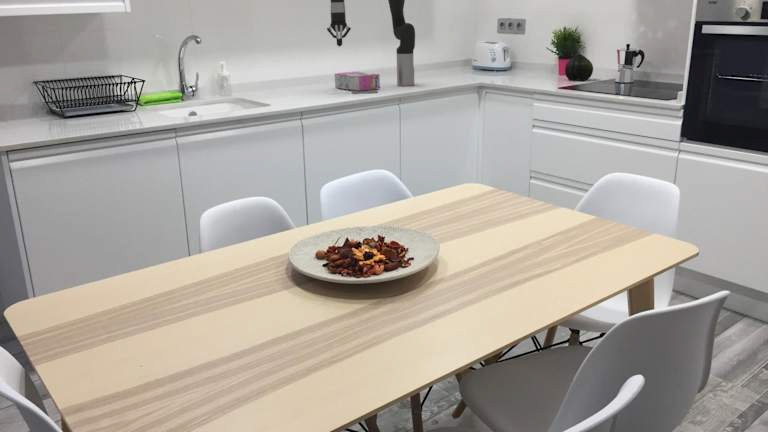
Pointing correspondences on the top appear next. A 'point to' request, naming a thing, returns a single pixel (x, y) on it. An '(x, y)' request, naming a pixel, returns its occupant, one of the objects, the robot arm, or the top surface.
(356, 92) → the mat
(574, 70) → the squash
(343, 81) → the gum box
